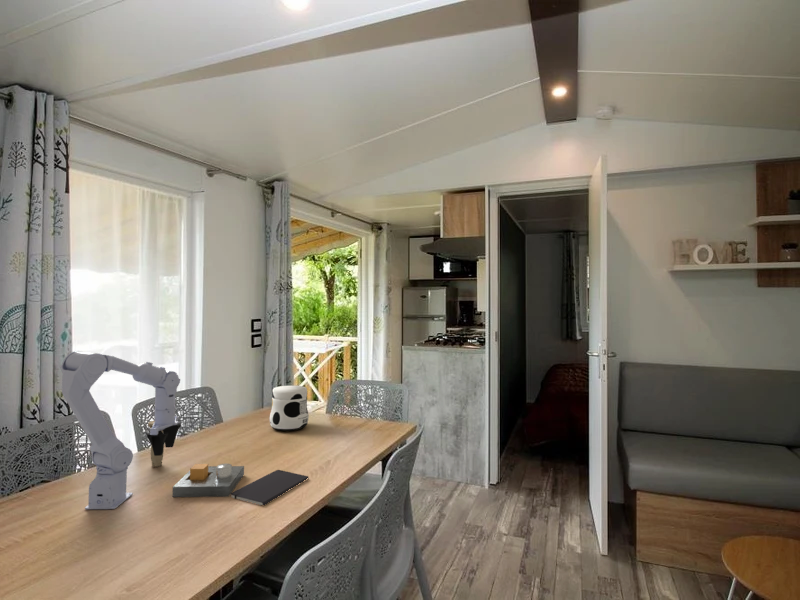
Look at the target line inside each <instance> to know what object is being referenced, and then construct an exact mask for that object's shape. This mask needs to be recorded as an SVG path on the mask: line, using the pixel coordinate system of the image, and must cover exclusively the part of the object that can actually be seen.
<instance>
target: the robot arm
mask: <svg viewBox="0 0 800 600" xmlns="http://www.w3.org/2000/svg"><path fill="white" fill-rule="evenodd" d="M59 368H60V371H61V373H62V376H61V380H62V381H61V394H62V396H63V398H64V399H65V401H66V403H67V404H68V406H69V408H70V409H71V411H72V413H73V415H74V416H75V418H76V419H77V421H78V423H79V425H80V427H82V428H81V429H82V430H83V431H84V433H85V435H86V436H87V438H88V439H89V443H91V445H90V446H89V450H90V452H91V461H92V463H93V464H94V465H95V466H96V473H95V474H96V475H95V477H94V479H93V480H92V481H91V482H90V483H89V485H88V503H87V505H86V506H84V509H85V510H114V509H116V508H117V507H119V506H120V505H122V504H123V503H124V502H125V501H126V500H128V499H129V498H130V497H131V496H133V494H134V493H133V492H127V484H128V483H127V477H128V475H127V473H128V469H129V466H130V465H131V464H132V462H133V459H134V453H133V450H132V449H130V448H128V447H127V446H125V444H124V443H123V442H122V441H121V440H120V439H119V438H118V437H116V436H115V435H114V433H113V431H112V430H111V428H110V426H109V424H108V422H107V420H106V418H105V417H104V415H103V413H102V411H101V410H100V408H99V406H98V405H97V404H98V403H97V402H96V401H95V399H94V398H93V395H92V394H91V392H90V390H91V388H92V387H93V385H94V384H95V383H96V382H97V381H98V380H99V378H100V377H101V376H102V375H103V374H104V373H108V372H110V371H116V372H119V373H122V374H127V375H130V376H132V379H133V380H134V381H135V382H138V383H141V384H145V385H149V386H152V387H153V388H154V390H155V391H154V392H155V393H154V395H155V397H154V421H155V422H154V424H153V426H152V428H149V432H148V433H146V438H147V439H148V441H149V442H150V446H151V445H152V448H153V452H154V456H161V455H162V454H163V455H164V452H163V449H165V448H173V447H174V444H175V441H176V438H177V434H178V432H179V429H180V428H181V425H182V424H181V423H179V421H178V420H179V417H178V416H177V415H176V393H177V391H178V386H180V383H181V378H180V377H179V374H178V373H177V372H176V371H172V370H166V368H165V367H163V366H160V367H159V366H155V365H153V363H152V362H150V361H145V362H141V363H139V364H136V363H133V362H131V361H130V362H129V361H127V360H125V359H122V358H119V357H117V356H114V355H107V354H103V353H98V352H94V353H92V352H85V351H82V350H81V351H80V350H75V351H72V352H70V353H68V354H67V355H66V356H65V357H64V359H63V361H62V363H61V365H60V366H59ZM162 430H163V432H162Z"/></svg>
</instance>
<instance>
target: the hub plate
mask: <svg viewBox="0 0 800 600" xmlns="http://www.w3.org/2000/svg"><path fill="white" fill-rule="evenodd" d="M243 475H244V476H245V466H244V465H232V464H231V463H220V464H218V465H217V466H215V465H211V466H210V465H208V478H207V479H206V480H190V470H189V471H188V472H187V473H186V474H184V476H183V477H181V479H179V480H178V481H177V482H176V483H175V484H174V485H173V486H172V495H171V496H172V498H203V497H204V498H206V497H207V498H213V497H215V498H216V497H217V498H218V497H219V498H220V497H230V495H231V493H232V492H234V491H235V488H236V487H237V486H238V484H239V483H240V482H241V480H242V479H243V477H244V476H243ZM241 478H242V479H241ZM236 485H237V486H236Z"/></svg>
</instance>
